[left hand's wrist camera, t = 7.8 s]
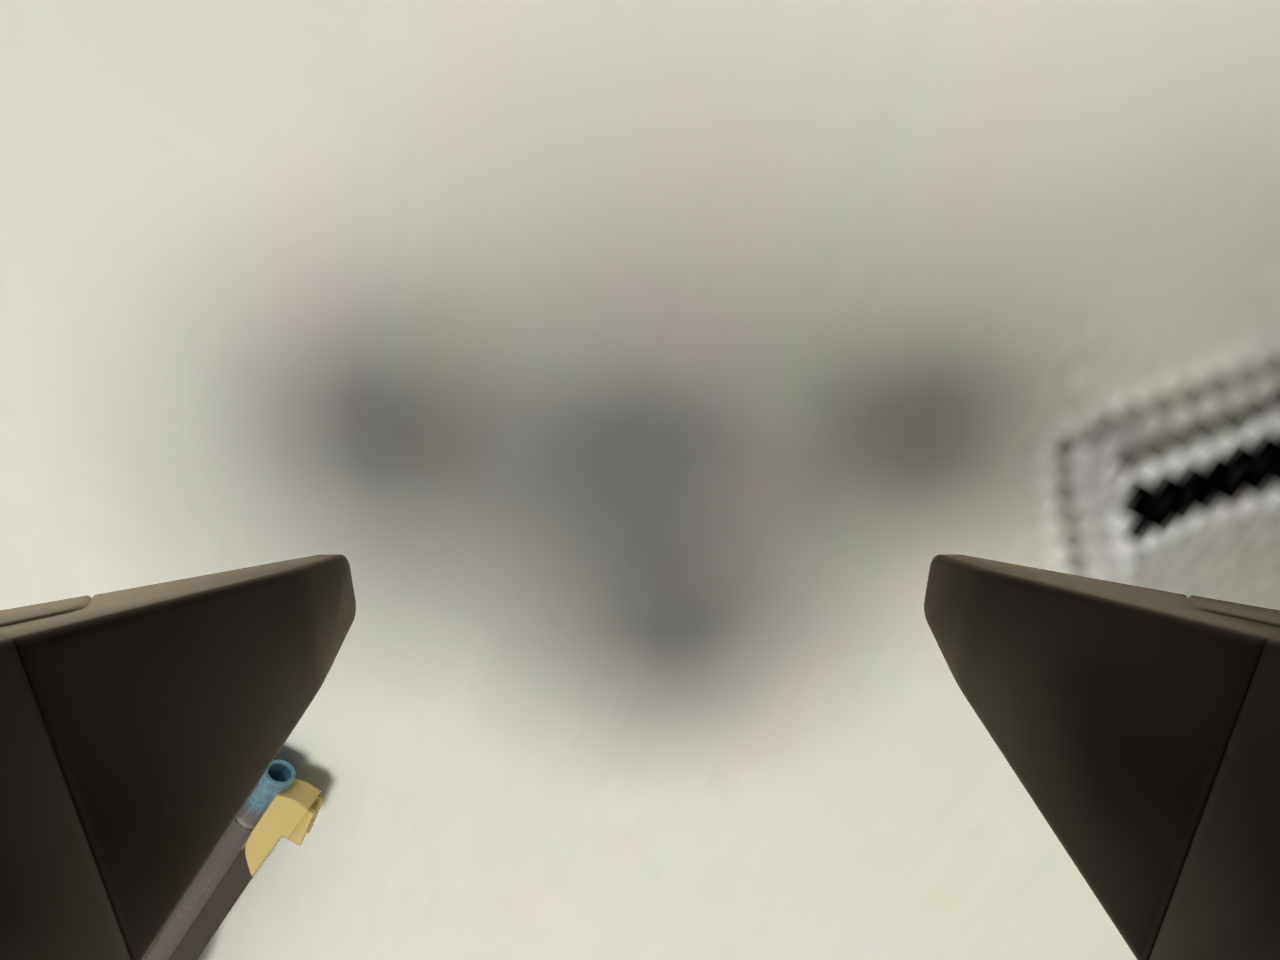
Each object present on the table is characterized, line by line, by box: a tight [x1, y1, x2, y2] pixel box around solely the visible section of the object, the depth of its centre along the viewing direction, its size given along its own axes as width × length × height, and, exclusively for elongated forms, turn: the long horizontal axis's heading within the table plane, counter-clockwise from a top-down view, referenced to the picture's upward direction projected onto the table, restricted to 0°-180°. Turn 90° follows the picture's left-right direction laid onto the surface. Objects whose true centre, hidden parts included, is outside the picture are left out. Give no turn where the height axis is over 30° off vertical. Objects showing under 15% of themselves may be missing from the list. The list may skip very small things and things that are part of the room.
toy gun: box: [143, 759, 324, 960], centre depth 24 cm, size 3×19×10 cm
